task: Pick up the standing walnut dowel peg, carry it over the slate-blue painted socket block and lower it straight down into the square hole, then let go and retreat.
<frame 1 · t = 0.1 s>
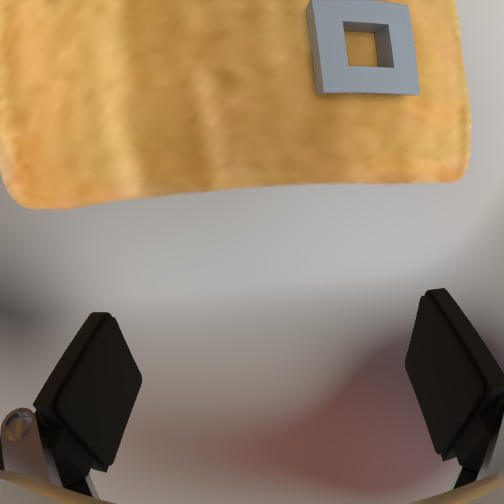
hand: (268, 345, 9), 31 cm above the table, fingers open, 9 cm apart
socket block: (356, 50, 30), on the table
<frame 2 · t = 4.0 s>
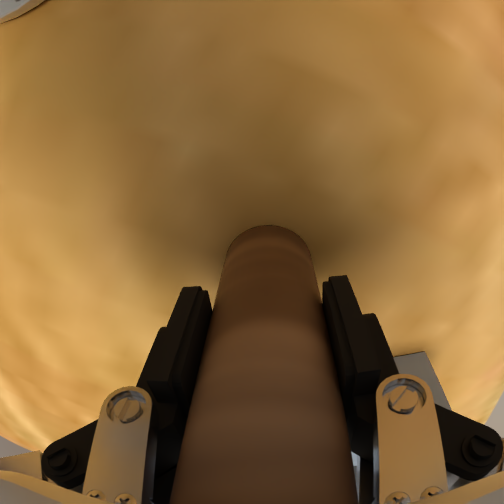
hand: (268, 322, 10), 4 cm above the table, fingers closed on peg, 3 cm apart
peg: (268, 265, 13), on the table, touching gripper
socket block: (327, 419, 18), on the table
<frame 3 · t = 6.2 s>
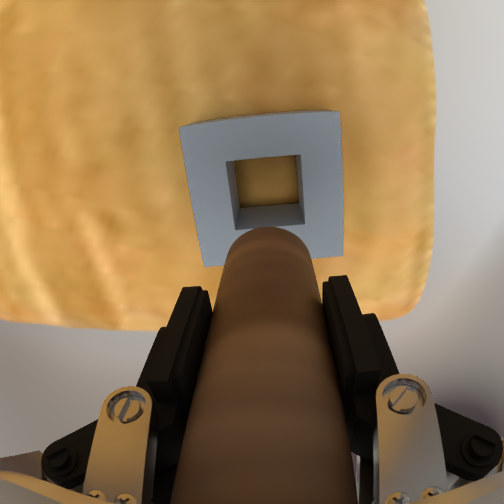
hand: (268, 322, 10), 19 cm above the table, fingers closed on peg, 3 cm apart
peg: (268, 266, 13), point 15 cm above the table, touching gripper
socket block: (266, 176, 27), on the table
when the fingers open (6 cm above the table, at t = 8.7 s): peg drops 2 cm, resting in socket block.
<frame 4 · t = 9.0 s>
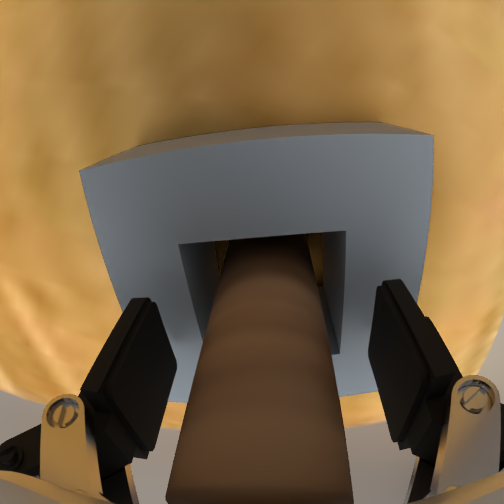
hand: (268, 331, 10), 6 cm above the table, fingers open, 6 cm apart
peg: (268, 244, 15), resting in socket block
socket block: (268, 244, 15), on the table
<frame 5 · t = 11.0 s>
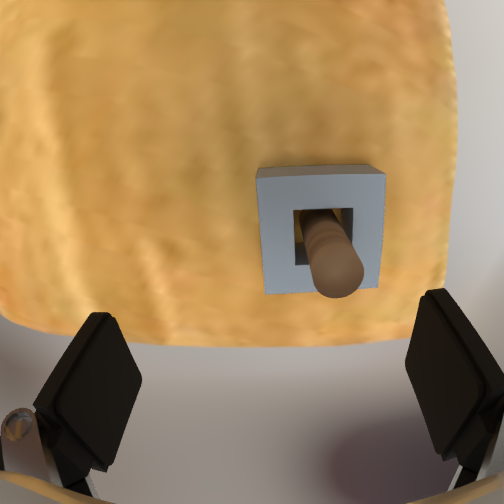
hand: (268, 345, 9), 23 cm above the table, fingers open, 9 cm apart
peg: (316, 218, 32), resting in socket block
socket block: (316, 218, 32), on the table
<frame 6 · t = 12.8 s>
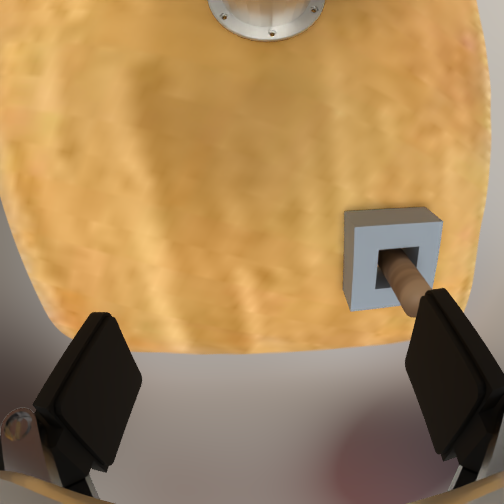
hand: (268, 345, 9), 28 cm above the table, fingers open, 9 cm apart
peg: (384, 249, 38), resting in socket block
socket block: (384, 249, 38), on the table
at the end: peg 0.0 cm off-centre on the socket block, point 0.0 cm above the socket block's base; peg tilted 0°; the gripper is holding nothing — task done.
